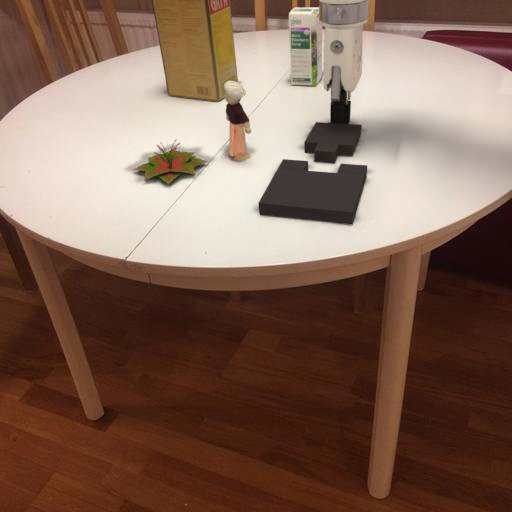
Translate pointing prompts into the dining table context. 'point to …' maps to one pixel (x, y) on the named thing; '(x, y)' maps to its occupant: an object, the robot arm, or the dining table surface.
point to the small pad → (332, 141)
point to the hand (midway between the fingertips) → (340, 123)
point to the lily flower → (170, 164)
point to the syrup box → (305, 46)
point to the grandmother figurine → (236, 121)
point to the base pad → (314, 193)
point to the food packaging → (196, 47)
